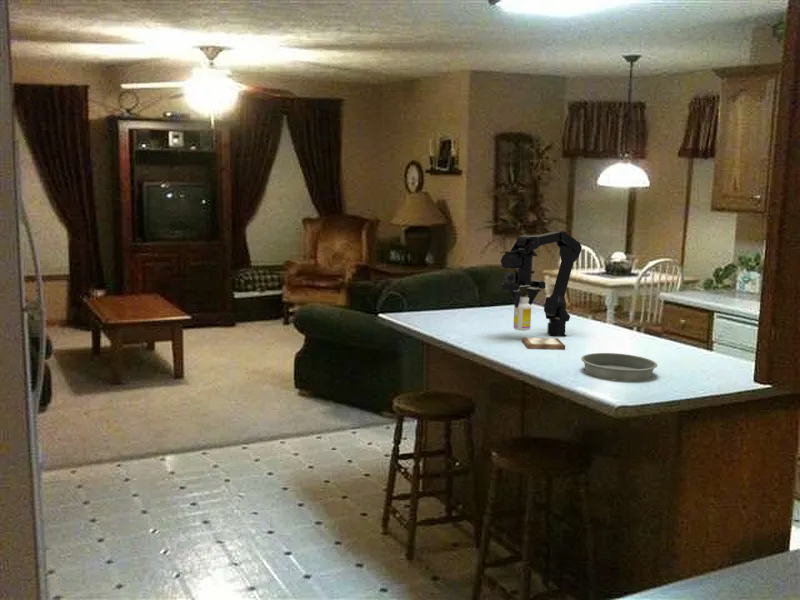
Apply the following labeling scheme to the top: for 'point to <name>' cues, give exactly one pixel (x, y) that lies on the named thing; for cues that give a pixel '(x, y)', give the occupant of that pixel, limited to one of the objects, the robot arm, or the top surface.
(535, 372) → the top surface
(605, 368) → the cake pan
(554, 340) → the brown square tray
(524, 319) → the supplement bottle
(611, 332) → the top surface
